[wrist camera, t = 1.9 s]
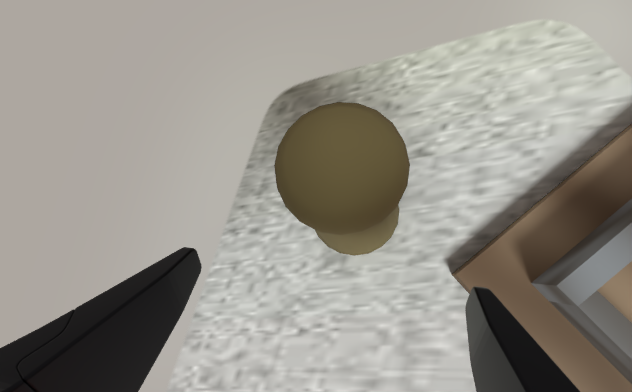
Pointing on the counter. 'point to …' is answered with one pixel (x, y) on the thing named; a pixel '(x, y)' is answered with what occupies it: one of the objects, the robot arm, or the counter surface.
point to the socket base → (572, 271)
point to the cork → (344, 175)
